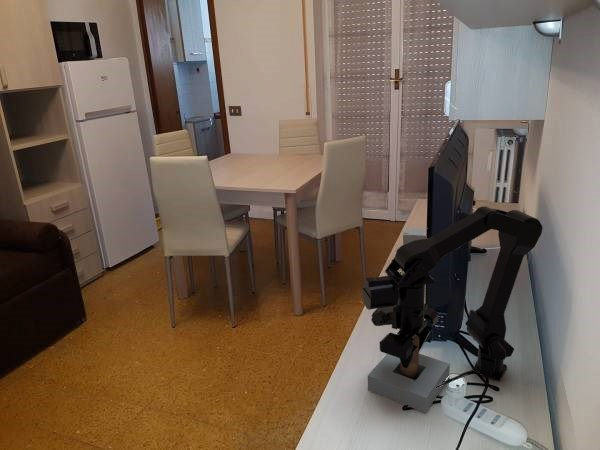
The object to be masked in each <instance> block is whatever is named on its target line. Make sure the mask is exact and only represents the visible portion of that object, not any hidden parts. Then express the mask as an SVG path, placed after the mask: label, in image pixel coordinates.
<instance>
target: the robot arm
mask: <svg viewBox="0 0 600 450" xmlns="http://www.w3.org/2000/svg"><path fill="white" fill-rule="evenodd" d="M543 229H544V228H543V225H542V223H541V221H540V220H539V219H538V218H535V216H534V217H533V216H532V215H529V214H527V213H525V212H522V211H520V210H518V209H512V210H509V211H505V210H501V209H499V208H498V209H497V208H491V207H489V206H487V205H486V206H485V205H484V206H479V207H478V208H477V209H475V211H474V212H472V213H471V214H469V215H467V216H465V217H463V218H462V219H460V220H458V221H456V222H454V223H453V224H452V225H450V226H448V227H446V228H444V229H443V230H441V231H439V232H437V233H436V234H434V235H433V236H429V238H427V239H420V240H415V241H412V242H410V243H407V244H405V245H403V244H402V245H400V246H399V247H398V248H397V249H396V253H395V255H394V257H393V259H392V260H391V262H390V263H389V265H388V266H387V267H386V269H385V270H384V273H385V274H386V275H384V276H378V277H377V276H376V277H375V276H369V277H366V278H365V282H364V283H363V287H362V288H361V289H362V291H361V292H362V299H363V303H364V305H365V308H366V309H367V310H369V311H370V310H374V311H373V312H372V314H371V318H370V322H372V325H373V326H375V327H382V326H391V328H392V329H394V330H398V331H397V333H393V332H389V333H388V334H386V335H385V336H384V337H383V338H382V339H381V340H380V342H379V351H380V352H381V353H383V354H385V355H387V354H389V355H392V356H395V357H398V358H400V361H401V363H402V366H403V367H404V368H408V366H409V364H410V362H411V360H412V358H413V356H414V354H415V351H416V349H417V347H418V346H415V345H413V342H414V339H413V337H414V336H415V335H417V336H418V337H419V352H421V350H422V348H423V345H425V342H426V341H427V339H428V337H429V335H430V333H431V332H432V331H433V328H432V327H431V326H435V325H436V323H438V321H439V315H440V314H439V313H438V311H437V310H436V309H434V308H431V307H428V306H429V305H428V304H427V303H425V299H426V297H425V296H426V286H427V285H431V284H435V283H436V280H435V279H434V278H433V277H432V276H431V275H430V274H429V273H430V272H431V271H433V270H434V269H435V268H437V265H438V264H439V262H441V260H442V259H443V258H444V257H446V256H447V255H449V254H450V253H452V252H454V251H455V250H458V249H460V248H461V247H463V246H464V245H466V244H467V243H470V242H472V241H473V240H475V239H477V238H478V237H481V235H483V234H486V233H487V232H488V231H491V230H493V231H498V233H497V235H498V242H499V246H500V248H499V253H498V256H497V258H496V261H495V264H494V266H493V270H492V274H491V277H490V280H489V283H488V286H487V289H486V292H485V295H484V298H483V302H482V305H481V306H480V307H478V308H477V309H476V310H474V309H470V310H469V313H468V318H467V320H466V322H465V325H466V331H467V333H468V335H469V336H470V337H471V338H472V339H473V341H475V342H476V343H477V344H478V350H477V351H478V352H477V361H476V363H475V364H474V366H473V367H472V369H471V371H473V370H477V371H479V372H480V374H482V375H481V376H483V375H484V376H483V377H486V378H489V379H492V380H495V381H498V382H500V381H502V378H503V376H504V374H505V372H507V371H506V370H507V369H508V365H507V364H506V363H504V362H505V360H506V359H507V358H509V357H512V355H513V353H514V351H515V348H514V347H513V346H512V345H511V344H510V343H509V342H508V341H507V340H506V339H505V338H506V333H507V324H506V318H505V312H506V311H507V306H508V303H509V302H510V298H511V295H512V292H513V289H514V287H515V283H516V280H517V277H518V273H519V272H520V268H521V267H522V262H523V260H524V257H525V256H526V255H527V254H528V253H529V252H531V251H532V250H533V249H534V248H535V247H536V245H537V243H538V242H539V240H540V237H541V235H542V234H543ZM399 270H401V271H402V273H403V272H404V273H405V274H404V276H402V273H400V271H399ZM397 303H398V304H397ZM425 319H426V320H425ZM428 320H430V325H431V326H427V325H428ZM480 374H479V375H480Z"/></svg>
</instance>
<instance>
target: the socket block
mask: <svg viewBox="0 0 600 450" xmlns="http://www.w3.org/2000/svg"><path fill="white" fill-rule="evenodd" d="M450 366H451V363H450V362H446V361H443V360H440V359H439V358H438V359H437V358H435V357H432V356H429V355H426V354H423V353H419V365H418V378H417V379H416V380H413V379H410V378H408V377H405V376H402V375H400V372H401V361H400V358H398V357H395V356H392V355H389V354H385V356H384V357H383V358H382V359H381V360H380V361H379V362H378V363H377V365H375V367H373V369H372V370H371V371H370V372H369V373H368V374H367V390H368V391H370V392H372V393H374V394H377V395H380V396H382V397H385V398H387V399H390V400H393V401H394V402H397V403H400V404H402V405H404V406H407V405H408V406H407V407H409V406H410V407H409V408H411V409H415V410H417V411H419V412H422V413H424V414H427V412H428V411H429V409H430V407H431V406H432V405H433V403H434V402H435V400H436V398H437V397H438V395H439V394H440V392H441V391H442V389H443V388H444V386H441V387H437V386H438V385H439V384H440V383H442V382H443V381H445V380H446V378H447V377H448V376H449V377H450V368H451V367H450ZM436 387H437V388H436ZM433 401H434V402H433Z"/></svg>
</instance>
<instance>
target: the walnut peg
mask: <svg viewBox="0 0 600 450" xmlns="http://www.w3.org/2000/svg"><path fill="white" fill-rule="evenodd" d="M413 339H414V342H413V345H415V346H418V347H417V349H416V351H415V354H414V356H413V358H412V360H411V362H410V364H409V366H408V368H404V367H403V366H402V363H401V372H400V375H402V376H405V377H408V378H410V379H413V380H417V379H418V365H419V354H420V351H419V337H418V336H417V335H415V336H414V337H413Z"/></svg>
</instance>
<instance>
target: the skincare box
mask: <svg viewBox="0 0 600 450" xmlns="http://www.w3.org/2000/svg"><path fill="white" fill-rule="evenodd" d="M426 229H427V228H415V227H406V228H405V229H404V231H403V233H402V245H405V244H407V243H410V242H412V241H415V240H420V239H426Z"/></svg>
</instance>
